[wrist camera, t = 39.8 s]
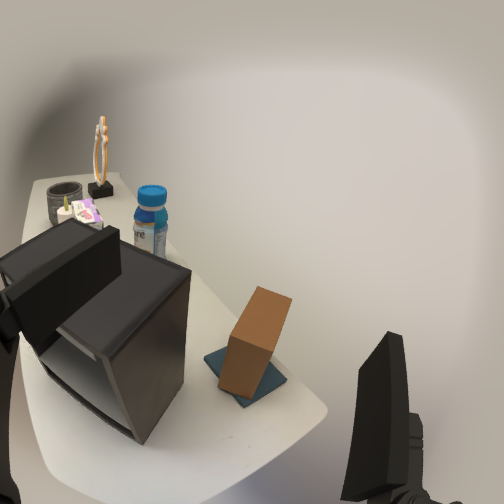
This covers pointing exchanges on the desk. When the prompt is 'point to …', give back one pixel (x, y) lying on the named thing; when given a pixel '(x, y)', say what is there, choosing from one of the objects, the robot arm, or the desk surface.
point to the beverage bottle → (151, 220)
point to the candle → (64, 211)
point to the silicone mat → (266, 385)
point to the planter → (62, 197)
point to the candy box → (87, 213)
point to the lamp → (102, 186)
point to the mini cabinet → (115, 332)
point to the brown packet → (253, 342)
